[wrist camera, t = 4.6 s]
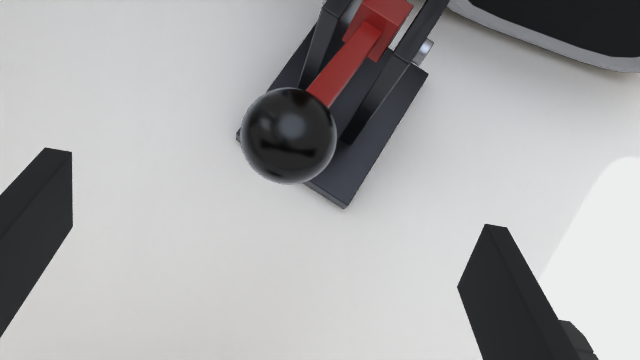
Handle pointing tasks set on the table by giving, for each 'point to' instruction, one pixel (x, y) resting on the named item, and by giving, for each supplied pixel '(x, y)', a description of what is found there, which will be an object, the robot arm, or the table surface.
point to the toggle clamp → (360, 92)
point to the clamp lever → (315, 102)
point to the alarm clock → (567, 27)
